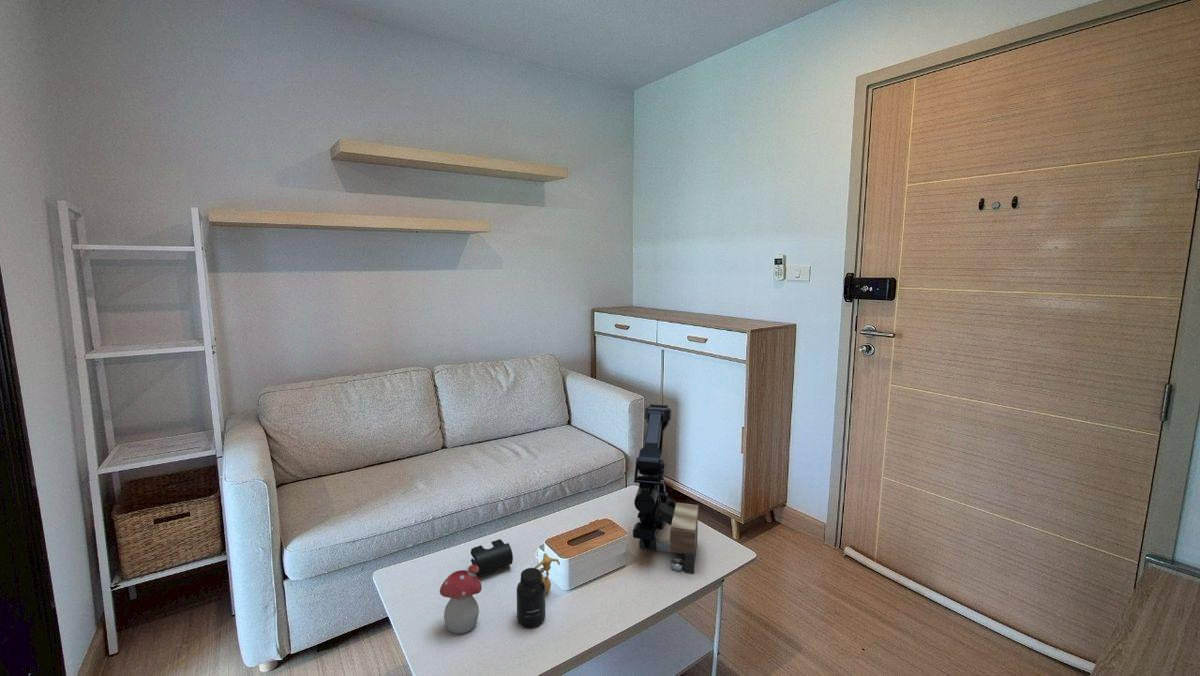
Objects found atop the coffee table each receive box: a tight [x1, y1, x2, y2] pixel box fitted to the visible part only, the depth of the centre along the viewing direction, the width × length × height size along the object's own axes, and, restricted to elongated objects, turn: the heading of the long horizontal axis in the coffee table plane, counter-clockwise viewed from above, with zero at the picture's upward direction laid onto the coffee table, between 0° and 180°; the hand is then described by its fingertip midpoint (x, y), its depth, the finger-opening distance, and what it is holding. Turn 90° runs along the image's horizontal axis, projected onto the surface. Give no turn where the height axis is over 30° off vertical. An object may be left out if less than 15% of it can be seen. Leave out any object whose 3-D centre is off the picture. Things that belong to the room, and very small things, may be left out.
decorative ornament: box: [439, 564, 483, 634], centre depth 117 cm, size 9×7×15 cm
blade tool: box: [638, 532, 685, 555], centre depth 148 cm, size 2×14×5 cm, turn 75°
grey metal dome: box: [670, 557, 685, 573], centre depth 139 cm, size 4×4×2 cm
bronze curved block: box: [668, 502, 699, 575], centre depth 144 cm, size 14×7×13 cm, turn 165°
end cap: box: [470, 538, 514, 578], centre depth 139 cm, size 10×7×7 cm
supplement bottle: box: [516, 567, 546, 629], centre depth 119 cm, size 7×7×12 cm
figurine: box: [533, 552, 561, 594], centre depth 128 cm, size 8×6×12 cm
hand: (648, 544), depth 149 cm, fingers open, 3 cm apart
